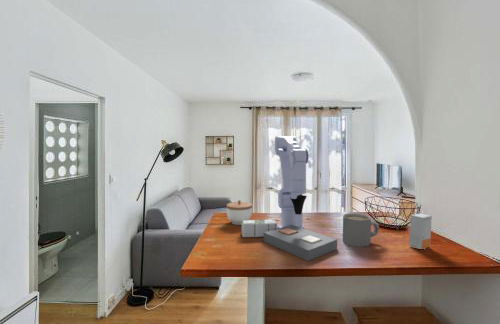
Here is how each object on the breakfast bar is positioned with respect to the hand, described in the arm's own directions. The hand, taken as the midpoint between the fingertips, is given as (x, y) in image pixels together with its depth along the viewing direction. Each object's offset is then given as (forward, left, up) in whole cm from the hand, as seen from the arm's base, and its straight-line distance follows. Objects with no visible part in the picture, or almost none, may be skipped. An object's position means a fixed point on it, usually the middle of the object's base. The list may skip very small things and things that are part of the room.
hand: (298, 214), depth 100 cm
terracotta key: (+4, -2, -10) cm, 11 cm away
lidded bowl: (+5, -33, -11) cm, 35 cm away
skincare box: (-29, +33, -11) cm, 45 cm away
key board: (+4, +4, -10) cm, 12 cm away
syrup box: (+15, -18, -7) cm, 24 cm away
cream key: (+4, +9, -10) cm, 14 cm away
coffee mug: (-17, +17, -11) cm, 26 cm away
